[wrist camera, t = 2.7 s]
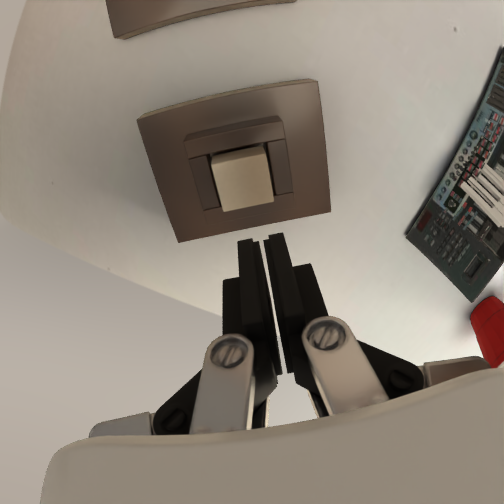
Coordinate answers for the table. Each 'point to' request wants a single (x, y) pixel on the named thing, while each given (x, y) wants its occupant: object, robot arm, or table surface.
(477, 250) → the synthesizer keyboard
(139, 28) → the key block
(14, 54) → the table surface
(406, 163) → the table surface
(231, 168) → the key ivory
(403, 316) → the table surface
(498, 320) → the plastic cup
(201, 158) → the key block
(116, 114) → the table surface
